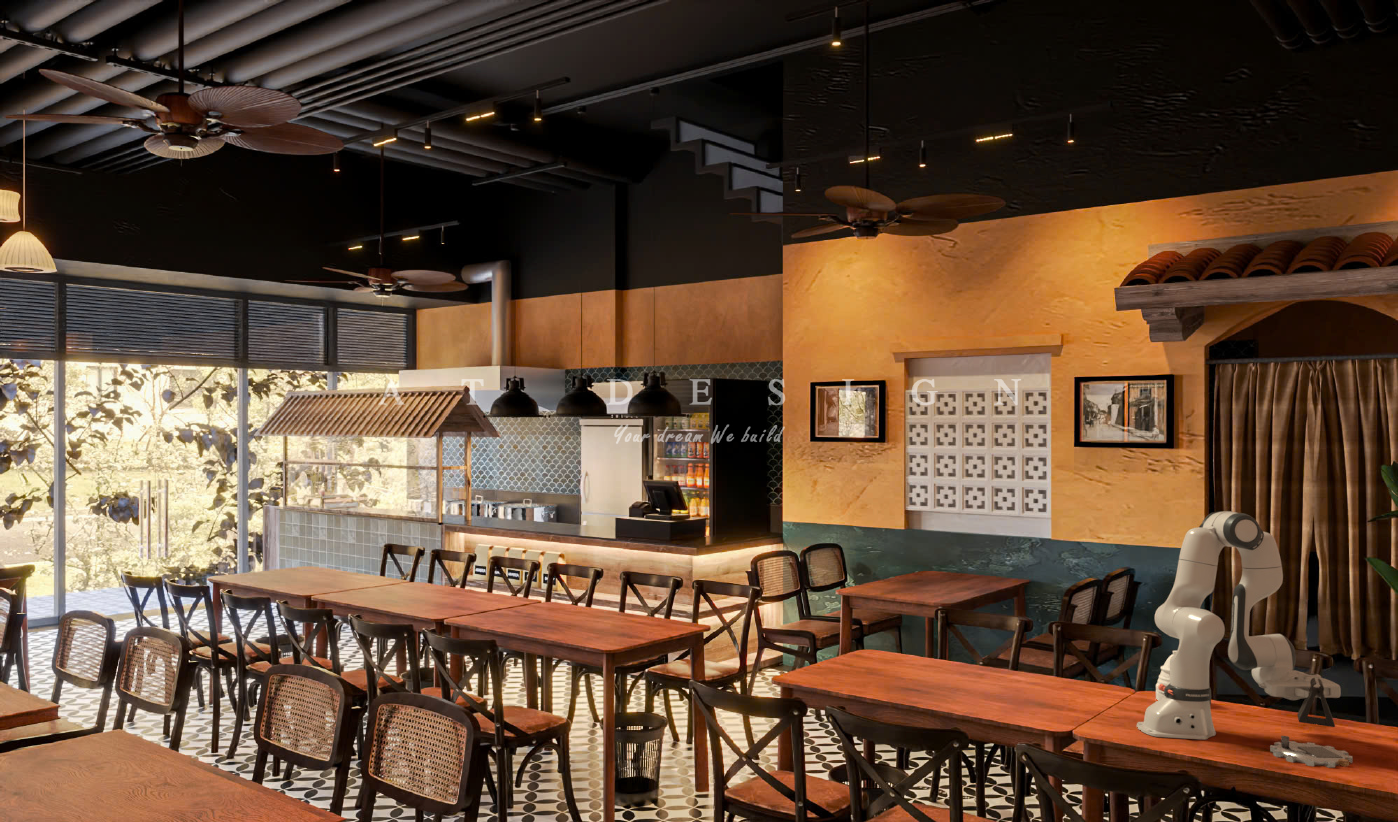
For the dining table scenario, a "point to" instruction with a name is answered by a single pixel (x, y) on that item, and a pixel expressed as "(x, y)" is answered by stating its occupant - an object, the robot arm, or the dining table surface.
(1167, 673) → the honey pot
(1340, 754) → the sprocket
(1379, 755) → the dining table surface
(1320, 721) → the dark grey triangular bracket
